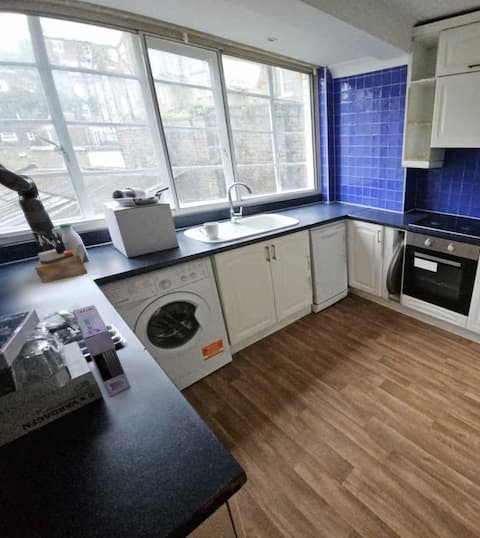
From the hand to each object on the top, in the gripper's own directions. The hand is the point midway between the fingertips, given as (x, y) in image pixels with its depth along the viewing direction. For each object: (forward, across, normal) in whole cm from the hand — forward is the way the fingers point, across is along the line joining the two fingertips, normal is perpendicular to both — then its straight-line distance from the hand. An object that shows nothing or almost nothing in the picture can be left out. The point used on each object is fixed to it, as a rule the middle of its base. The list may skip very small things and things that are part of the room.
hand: (55, 253), depth 141 cm
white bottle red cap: (+3, 0, 0) cm, 3 cm away
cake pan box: (+11, +98, -48) cm, 109 cm away
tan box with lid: (+11, -3, +3) cm, 11 cm away
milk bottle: (+11, -16, +17) cm, 26 cm away
